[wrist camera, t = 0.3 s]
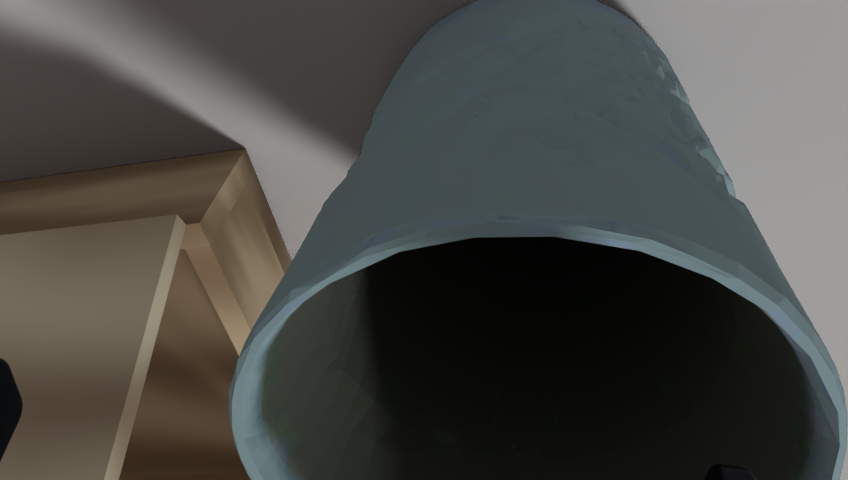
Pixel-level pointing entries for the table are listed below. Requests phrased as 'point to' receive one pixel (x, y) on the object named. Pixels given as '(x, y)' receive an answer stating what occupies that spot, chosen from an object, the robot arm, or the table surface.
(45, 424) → the flap
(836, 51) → the table surface
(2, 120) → the table surface
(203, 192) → the carton
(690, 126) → the teal cup
